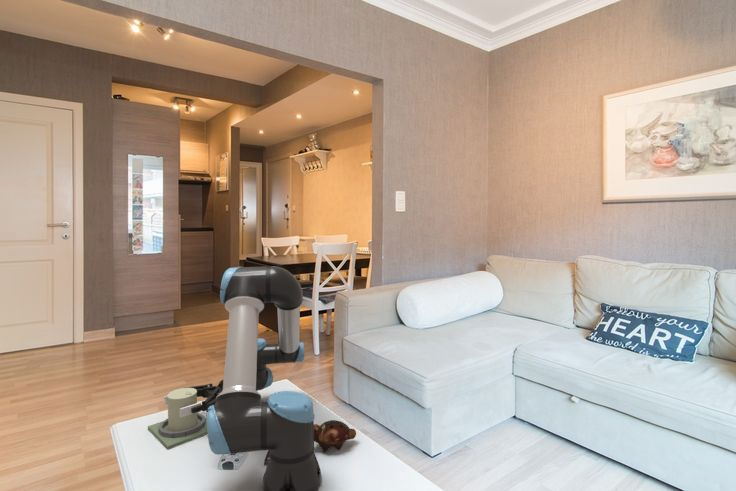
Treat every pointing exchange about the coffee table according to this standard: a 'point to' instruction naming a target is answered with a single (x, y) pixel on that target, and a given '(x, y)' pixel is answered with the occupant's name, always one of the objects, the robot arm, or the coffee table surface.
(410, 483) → the coffee table surface
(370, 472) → the coffee table surface
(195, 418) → the can
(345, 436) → the decorative turtle
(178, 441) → the deck mount
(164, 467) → the coffee table surface
